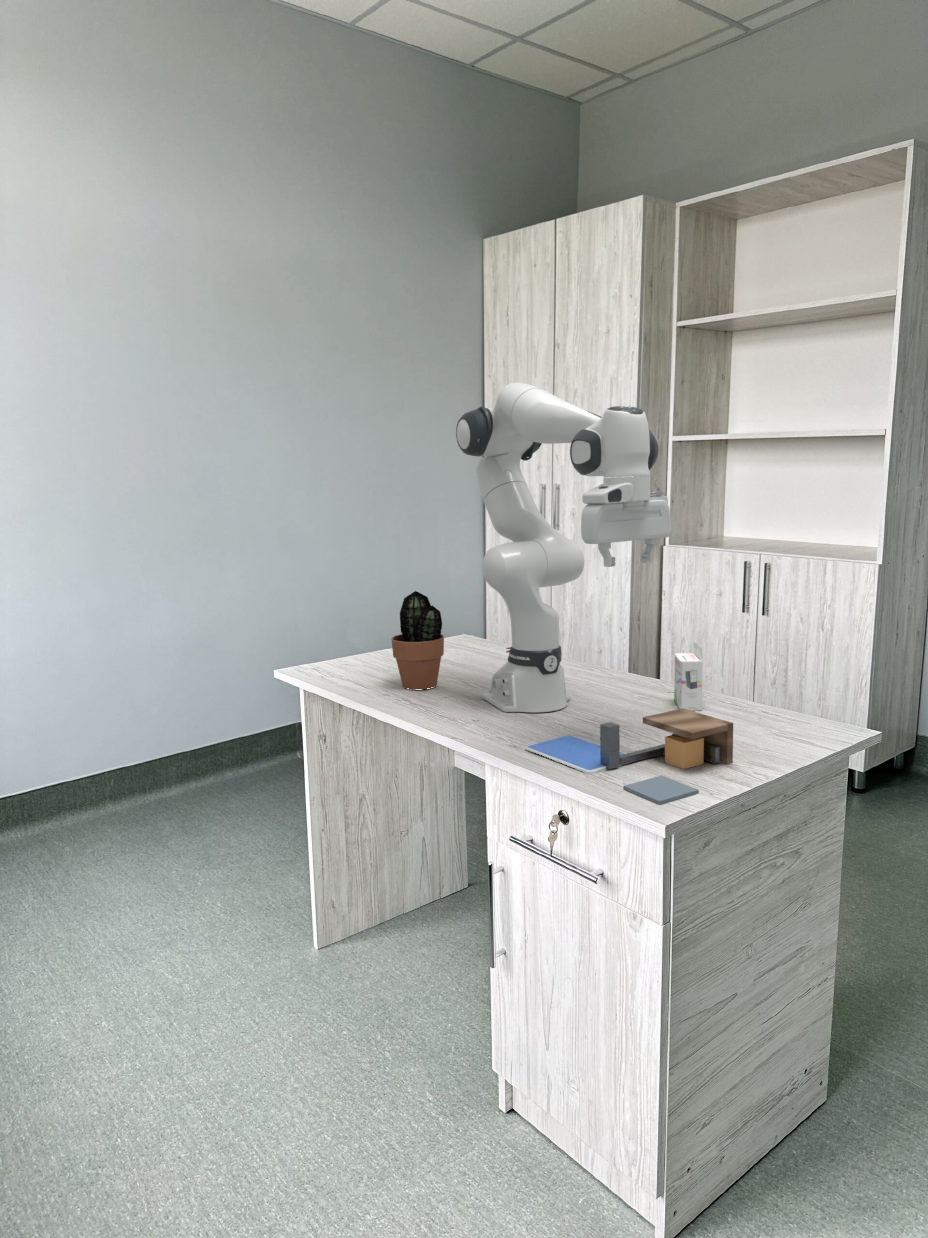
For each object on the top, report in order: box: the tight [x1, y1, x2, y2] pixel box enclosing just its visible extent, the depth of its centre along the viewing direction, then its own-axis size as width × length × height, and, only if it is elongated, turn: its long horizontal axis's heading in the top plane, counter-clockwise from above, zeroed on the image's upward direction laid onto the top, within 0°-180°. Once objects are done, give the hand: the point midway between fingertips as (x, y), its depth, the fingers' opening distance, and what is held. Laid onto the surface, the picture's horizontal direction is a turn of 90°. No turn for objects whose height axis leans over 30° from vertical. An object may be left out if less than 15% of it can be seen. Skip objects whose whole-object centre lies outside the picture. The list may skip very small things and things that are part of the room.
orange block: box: [664, 734, 704, 770], centre depth 169 cm, size 5×5×5 cm
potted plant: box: [391, 590, 445, 689], centre depth 233 cm, size 14×14×25 cm
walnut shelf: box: [642, 708, 734, 765], centre depth 171 cm, size 13×10×8 cm
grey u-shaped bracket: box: [599, 721, 722, 770], centre depth 168 cm, size 12×19×8 cm, turn 121°
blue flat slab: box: [524, 734, 636, 775], centre depth 176 cm, size 19×13×1 cm, turn 35°
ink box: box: [673, 640, 703, 712], centre depth 207 cm, size 9×5×15 cm, turn 178°
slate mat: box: [622, 775, 700, 806], centre depth 155 cm, size 9×9×1 cm
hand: (628, 564), depth 174 cm, fingers open, 8 cm apart
